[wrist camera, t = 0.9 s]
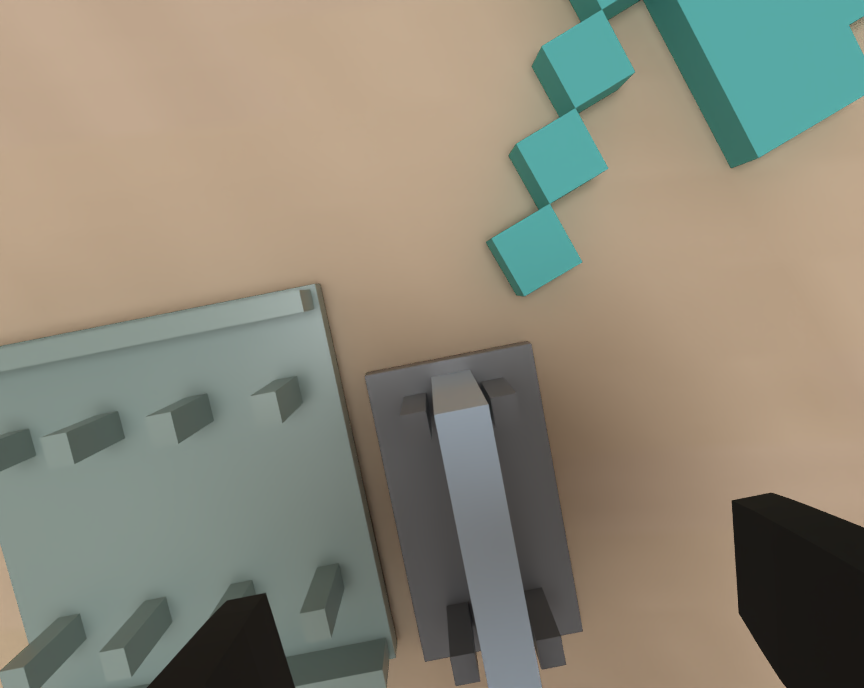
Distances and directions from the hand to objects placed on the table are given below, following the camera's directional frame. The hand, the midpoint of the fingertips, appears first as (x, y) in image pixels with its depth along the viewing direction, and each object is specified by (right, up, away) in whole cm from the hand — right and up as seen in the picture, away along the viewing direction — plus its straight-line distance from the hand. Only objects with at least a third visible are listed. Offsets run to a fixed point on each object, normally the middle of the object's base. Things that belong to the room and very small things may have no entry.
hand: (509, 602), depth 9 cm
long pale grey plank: (0, -2, +12) cm, 12 cm away
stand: (0, -2, +13) cm, 13 cm away
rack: (-10, -2, +13) cm, 17 cm away
